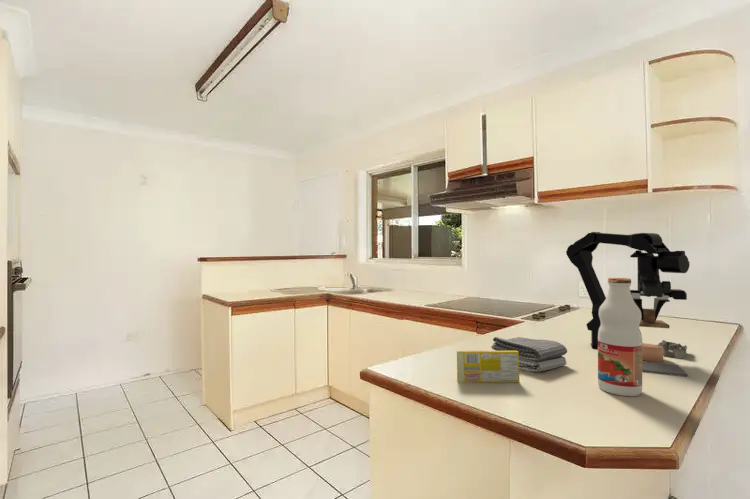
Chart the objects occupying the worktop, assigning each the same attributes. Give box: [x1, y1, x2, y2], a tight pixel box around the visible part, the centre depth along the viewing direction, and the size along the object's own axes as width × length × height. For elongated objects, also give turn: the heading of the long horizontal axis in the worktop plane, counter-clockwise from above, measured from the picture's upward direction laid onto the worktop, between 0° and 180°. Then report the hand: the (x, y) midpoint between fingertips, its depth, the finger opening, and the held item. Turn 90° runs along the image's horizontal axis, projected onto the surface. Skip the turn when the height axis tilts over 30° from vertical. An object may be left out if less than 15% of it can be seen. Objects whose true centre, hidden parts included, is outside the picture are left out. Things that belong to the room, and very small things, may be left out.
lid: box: [639, 307, 670, 329], centre depth 125 cm, size 9×9×5 cm
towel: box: [490, 336, 568, 373], centre depth 120 cm, size 15×18×8 cm
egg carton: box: [657, 339, 688, 359], centre depth 131 cm, size 11×8×4 cm
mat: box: [642, 360, 689, 377], centre depth 114 cm, size 11×10×1 cm
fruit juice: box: [597, 277, 643, 397], centre depth 97 cm, size 9×9×28 cm
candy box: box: [456, 350, 520, 384], centre depth 103 cm, size 16×2×8 cm, turn 89°
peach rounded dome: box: [642, 342, 664, 363], centre depth 125 cm, size 8×8×4 cm
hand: (648, 320), depth 125 cm, fingers closed on lid, 3 cm apart
